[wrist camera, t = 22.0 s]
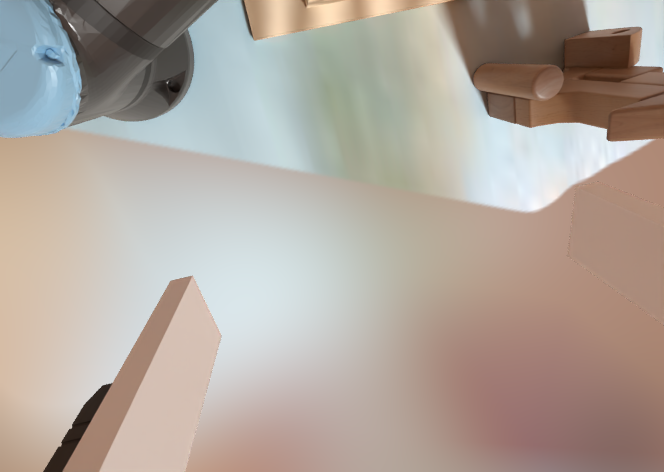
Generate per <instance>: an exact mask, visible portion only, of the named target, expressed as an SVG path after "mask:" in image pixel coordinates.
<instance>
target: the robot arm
mask: <svg viewBox="0 0 664 472" xmlns="http://www.w3.org/2000/svg"><path fill="white" fill-rule="evenodd" d="M217 1H218V0H0V137H6V138H18V137H27V136H35V135H36V136H41V135H49V134H51V133H57V132H58V131H60V130H61V129H65V128H66V127H69V126H72V125H76V124H79V123H82V122H85V121H88V120H92V119H95V118H98V117H101V116H106V117H109V118H112V119H116V120H121V121H144V120H149V119H152V118H155V117H158V116H160V115H163V114H165V113H167V112H168V111H170V110H172V109H173V108H174V107H175V106H177V105H178V104H179V103H180V101H181V100H182V99H183V98H184V96H185V94H186V93H187V91H188V89H189V87H190V84H191V81H192V77H193V71H194V52H193V46H192V41H191V38H190V35H189V32H188V28H189V27H190V26H191V25H192V24H193V23H194V22H195V21H196V20H197V19H198V18H199V17H201V16H202V15H203V14H204V13H205V12H206V11H207V10H208V9H209V8H210V7H211V6H212V5H213V4H215V3H216V2H217ZM568 257H570V258H571V259H572V260H574V261H575V262H576V263H578V264H579V265H580V266H582V267H583V268H585V269H586V270H587V271H589V272H590V273H591V274H593V275H594V276H596V277H597V278H599V279H600V280H601V281H603V282H604V283H605V284H607V285H608V286H610V287H611V288H612V289H614V290H615V291H617V292H618V293H619V294H621V295H622V296H624V297H625V298H626V299H628V300H629V301H630V302H632V303H633V304H635V305H636V306H637V307H639V308H640V309H642V310H643V311H644V312H646V313H647V314H649V315H650V316H651V317H653V318H654V319H655V320H657V321H658V322H660V323H661V324H663V325H664V207H662V206H659V205H657V204H654V203H652V202H649V201H647V200H644V199H642V198H639V197H637V196H634V195H632V194H629V193H627V192H624V191H621V190H619V189H616V188H614V187H611V186H609V185H606V184H604V183H601V182H599V181H597V182H593V183H589V184H585V185H580V186H576V188H575V196H574V205H573V213H572V222H571V230H570V239H569V248H568ZM220 340H221V334H220V332H219V329H218V327H217V325H216V323H215V321H214V319H213V317H212V315H211V313H210V311H209V309H208V307H207V304H206V302H205V300H204V298H203V296H202V294H201V292H200V290H199V288H198V286H197V284H196V281H195V279H194V277H193V276H189V277H185V278H180V279H176V280H172V281H170V283H169V285H168V286H167V288H166V290H165V292H164V294H163V295H162V297H161V299H160V301H159V303H158V304H157V306H156V308H155V310H154V311H153V313H152V315H151V317H150V318H149V320H148V322H147V324H146V325H145V327H144V329H143V331H142V332H141V334H140V336H139V338H138V339H137V341H136V343H135V345H134V347H133V348H132V350H131V352H130V354H129V355H128V357H127V359H126V361H125V362H124V364H123V366H122V368H121V369H120V371H119V373H118V375H117V377H116V378H115V380H114V382H113V383H111V384H107V385H103V386H102V387H101V388H100V389H99V390H98V391H97V392H96V393H95V394H94V395H93V396H92V397H91V398H90V399H89V400H88V401H87V402H86V404H85V405H84V406H83V408H82V409H81V411H80V413H79V415H78V416H77V418H76V419H75V421H74V422H73V424H72V429H69V431H68V432H67V434H66V435H65V437H64V439H63V440H62V442H61V443H62V445H61V447H58V449H57V450H56V452H55V453H54V455H53V457H52V458H51V460H50V462H49V463H48V465H47V467H46V468H45V470H44V471H43V472H185V470H186V466H187V462H188V459H189V455H190V451H191V448H192V444H193V440H194V436H195V433H196V429H197V425H198V421H199V418H200V414H201V410H202V407H203V403H204V399H205V395H206V392H207V388H208V384H209V381H210V377H211V373H212V369H213V365H214V362H215V358H216V355H217V350H218V347H219V343H220Z"/></svg>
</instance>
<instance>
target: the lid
mask: <svg viewBox="0 0 664 472" xmlns="http://www.w3.org/2000/svg"><path fill="white" fill-rule="evenodd" d="M449 1H454V0H244V2H245V6H246V10H247V14H248V18H249V22H250V26H251V30H252V34H253V38H254V40H255V41H256V40H260V39H265V38H270V37H275V36H280V35H285V34H290V33H295V32H300V31H305V30H310V29H315V28H320V27H325V26H330V25H335V24H340V23H345V22H350V21H355V20H360V19H365V18H370V17H375V16H380V15H385V14H389V13H394V12H399V11H404V10H409V9H414V8H419V7H424V6H429V5H434V4H439V3H444V2H449Z"/></svg>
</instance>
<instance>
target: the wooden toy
mask: <svg viewBox="0 0 664 472" xmlns="http://www.w3.org/2000/svg"><path fill="white" fill-rule="evenodd" d="M641 36H642V28H641V27H627V28H617V29H606V30H596V31H589V32H586V33H583V34H580V35H577V36H574V37H571V38H568V39H565V46H564V66H565V67H564V73H563V72H562V70H561V69H560V68H559V67H558V66H556V65H546V64H501V63H487V64H483V65H481V66H480V67H479V68H478V69H477V70H476V72H475V74H474V77H473V82H474V85H475V87H476V88H477V89H478V90H480V91H486V92H488V93H487V97H488V109H489V116H490V117H494V118H497V119H501V120H504V121H507V122H511V123H514V124H519V125H522V126H526V127H529V128H532V127H536V126H541V125H548V124H555V123H583V124H587V125H591V126H596V127H600V128H604V129H607V140H608V141H628V140H645V139H661V138H664V72H663V68H662V67H642V66H634V65H635V64H637V62H638V61H639V55H640V47H641Z"/></svg>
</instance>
